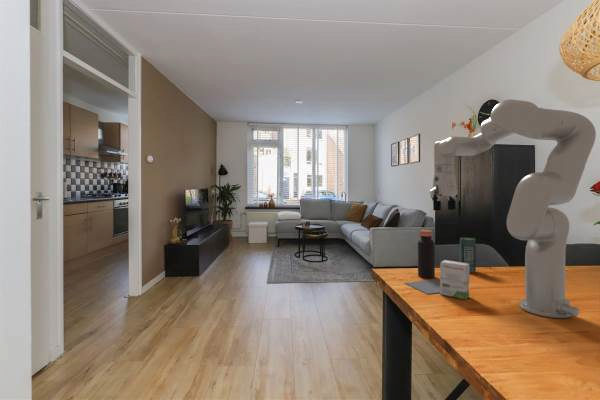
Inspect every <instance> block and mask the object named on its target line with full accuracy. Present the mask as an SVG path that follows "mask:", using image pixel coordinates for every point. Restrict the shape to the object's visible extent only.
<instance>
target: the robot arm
mask: <svg viewBox="0 0 600 400" xmlns="http://www.w3.org/2000/svg"><path fill="white" fill-rule="evenodd" d="M489 115H490V117H488V118H486V119H485V120H482V122H481V124H480V127H479V128H480V133H478V134H477V135H475V136H472V137H469V136H450V137H448V138H445V139H444V140H443V139H442V140H438V141H435V143H434V145H433V161H434V162H433V163H434V165H433V166H434V168H433V169H434V171H433V172H434V173H433V181H432V189H430V190H429V194H430V198H431V201H432V205H433V211H439V212H440V211H441V210H442V202H441V198H442V197H447V199H448V200H447V209H448V210H453V211H455V210H456V209H457V206H456V201H457V197H458V194H459V189H458V187H457V177H456V174H455V159H454V156H455V157H456V156H457V157H459V156H460V157H461V156H462V157H472V156H476V155H478V154H481V153H483V152H485V151H488V150H489V149H491V148H492V147H493V146H495V144H496V143H497V141H500V140H502V139H504V138H506V137H508V136H511V135H513V134H516V135H519V136H522V137H525V138H527V139H532V140H539V141H540V140H541V141H542V140H544V141H555V142H556V143H557V144H556V145H555V146H554V147H553V149H552V150H551V151H550V153H549V155H548V157H547V160H546V163H545V165H544V169H543V170H542V171H540V172H539V171H538V172H537V171H536V172H532V173H529V174H527V175H525V176H524V177H523V178H521V180H520V181H519V182H518V184H517V185H516V188H515V191H514V193H513V197H512V200H511V203H510V207H509V210H508V214H507V215H506V228H507V231H508V233H509V234H510V235H511V236H512V237H513V238H514V239H517V240H519V241H527V242H526V245H525V253H524V256H525V257H524V268H525V269H524V274H525V275H524V299H523V300H520V301H519V303H518V305H519V306H518V307H519V308H520V309H521V310H524V311H525V312H528V313H530V314H533V315H537V316H541V317H547V318H553V319H567V318H571V317H572V316H573V317H578V316H579V312H580V308H579V307H576V306H573V305H571V304H570V299H567V298H566V254H567V253H566V251H567V241H568V236H569V232H570V220H569V218H568V216H567V215H566V213H564V212H563V211H561V210H560V209H558V208H555V207H550V206H556V205H557V206H558V205H564V204H567V203H569V202H570V201H572V200H573V199H574V197H575V195H576V192H577V191H578V187H579V184H580V182H581V179H582V177H583V173H584V171H585V168H586V164H587V162H588V159H589V157H590V155H591V152H592V149H593V147H594V145H595V141H596V136H597V134H596V131H597V130H596V127H595V125H594V124H593V123H592V121H591V120H590V119H589V118H587V116H584V115H582V114H580V113H577V112H573V111H569V110H561V109H559V110H558V109H552V108H551V109H550V108H543V107H538V105H536V104H535V103H533V102H531V101H528V100H527V101H526V100H518V99H504V100H502V101H500V102H498V103H497V104H496V105H495V106H494V107H493V108H492V109H491V112H490V114H489Z"/></svg>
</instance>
